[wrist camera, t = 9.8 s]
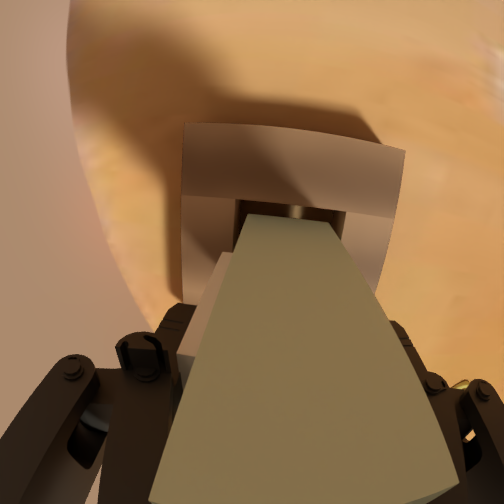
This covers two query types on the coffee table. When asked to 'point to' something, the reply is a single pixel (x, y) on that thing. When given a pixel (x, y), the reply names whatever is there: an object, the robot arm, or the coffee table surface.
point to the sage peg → (301, 387)
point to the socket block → (283, 190)
